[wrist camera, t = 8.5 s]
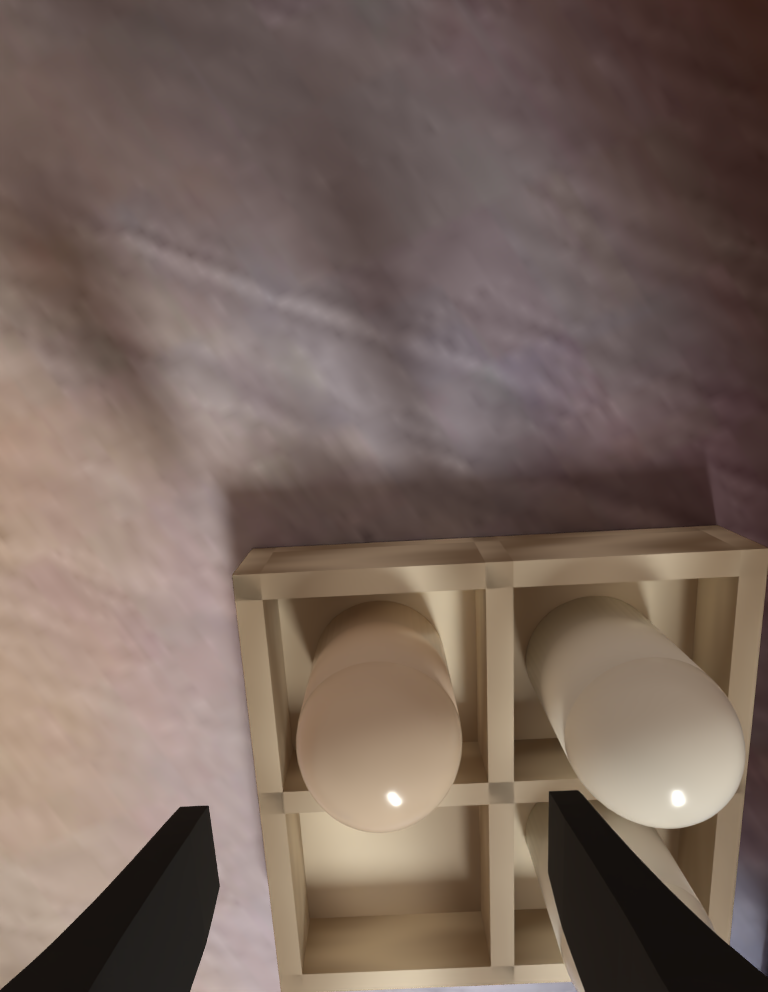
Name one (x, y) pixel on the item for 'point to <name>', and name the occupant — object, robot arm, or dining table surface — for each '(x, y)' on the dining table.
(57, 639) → the dining table surface
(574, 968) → the cream egg
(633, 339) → the dining table surface
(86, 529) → the dining table surface
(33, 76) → the dining table surface
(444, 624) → the caddy
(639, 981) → the robot arm
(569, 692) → the cream egg
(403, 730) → the brown egg
